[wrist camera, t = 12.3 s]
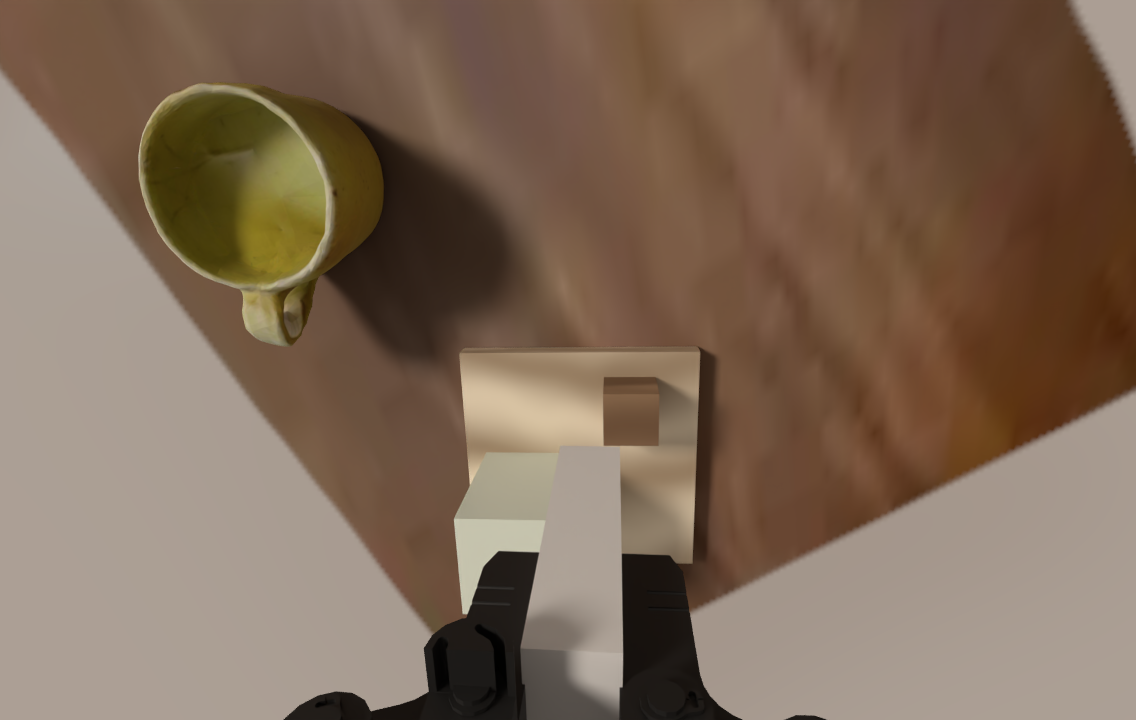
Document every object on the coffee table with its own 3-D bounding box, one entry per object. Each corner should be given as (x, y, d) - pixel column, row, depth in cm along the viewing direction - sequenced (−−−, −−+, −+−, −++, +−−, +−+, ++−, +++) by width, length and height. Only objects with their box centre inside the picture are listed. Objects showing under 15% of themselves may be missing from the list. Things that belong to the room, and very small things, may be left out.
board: (464, 347, 35) (445, 368, 31) (697, 346, 34) (708, 366, 30) (480, 547, 39) (464, 588, 35) (689, 552, 38) (698, 594, 34)
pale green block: (486, 452, 36) (453, 518, 29) (576, 452, 36) (567, 520, 28) (492, 532, 38) (462, 614, 30) (578, 533, 37) (570, 617, 30)
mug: (192, 44, 30) (96, 61, 22) (397, 95, 33) (383, 128, 25) (201, 263, 36) (129, 344, 27) (375, 290, 39) (358, 370, 30)
